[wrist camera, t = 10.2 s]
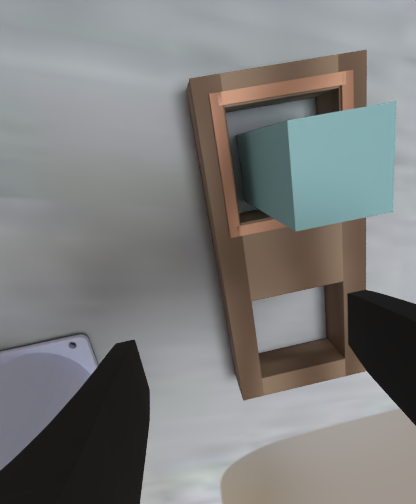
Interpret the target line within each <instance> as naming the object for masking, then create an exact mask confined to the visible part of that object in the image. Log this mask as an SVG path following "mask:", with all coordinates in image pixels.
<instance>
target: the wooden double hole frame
mask: <svg viewBox="0 0 416 504" xmlns="http://www.w3.org/2000/svg"><path fill="white" fill-rule="evenodd" d="M366 78H367V50H362V51H356V52H350V53H344V54H338V55H332V56H326V57H319V58H313V59H307V60H301V61H295V62H289V63H283V64H277V65H270V66H264V67H258V68H252V69H246V70H240V71H234V72H227V73H221V74H215V75H209V76H203V77H197V78H191V79H189V83H188V86H187V95H188V101H189V107H190V112H191V118H192V124H193V130H194V136H195V142H196V147H197V153H198V159H199V165H200V171H201V176H202V182H203V188H204V194H205V200H206V206H207V211H208V217H209V223H210V229H211V235H212V240H213V246H214V252H215V258H216V264H217V270H218V275H219V281H220V287H221V293H222V299H223V304H224V310H225V316H226V322H227V328H228V334H229V339H230V345H231V351H232V357H233V363H234V368H235V374H236V378H237V381H238V385H239V388H240V391H241V394H242V398H243V400H247V399H251V398H256V397H260V396H264V395H268V394H272V393H276V392H281V391H285V390H289V389H293V388H297V387H302V386H306V385H310V384H314V383H318V382H323V381H327V380H331V379H335V378H339V377H344V376H348V375H352V374H356V373H360V372H365V368H364V367H363V365H362V364H361V362H360V361H359V360H358V358H357V357H356V355H355V354H354V352H353V351H352V349H351V348H350V346H349V345H348V302H347V293H352V292H357V291H361V290H366V217H365V218H360V219H355V220H350V221H345V222H340V223H335V224H330V225H325V226H320V227H316V228H311V229H306V230H301V231H294V230H292V229H291V228H289V227H287V226H286V225H284V224H282V223H281V222H279V221H277V220H276V219H274V218H272V217H271V216H269V215H267V214H266V213H264V212H262V211H261V210H254V211H249V212H244V213H239V208H238V201H237V193H236V186H235V179H234V172H233V164H232V157H231V150H230V142H229V135H228V128H227V120H226V112H231V111H237V110H243V109H249V108H255V107H261V106H266V105H272V104H278V103H284V102H290V101H295V100H301V99H307V98H313V97H316V106H317V115H321V114H327V113H332V112H338V111H344V110H349V109H355V108H361V107H366ZM324 285H325V302H326V324H327V338H326V339H321V340H317V341H312V342H308V343H304V344H299V345H295V346H291V347H286V348H282V349H277V350H273V351H269V352H264V353H260V354H258V347H257V339H256V332H255V325H254V317H253V310H252V303H251V301H254V300H259V299H264V298H268V297H273V296H277V295H282V294H287V293H291V292H296V291H301V290H305V289H310V288H314V287H319V286H324Z"/></svg>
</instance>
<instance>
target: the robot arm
mask: <svg viewBox="0 0 416 504" xmlns="http://www.w3.org/2000/svg"><path fill="white" fill-rule="evenodd" d="M347 302H348V345H349V346H350V348H351V349H352V351H353V352H354V354H355V355H356V357H357V358H358V360H359V361H360V362H361V364H362V365H363V367H364V368H365V369H366V371H367V372H368V373H369V374H370V375H371V376H372V378H373V379H374V380H375V381H376V382H377V383H378V384H379V385H380V387H381V388H382V389H383V390H384V391H385V392H386V393H387V394H388V395H389V397H390V398H391V399H392V400H393V401H394V402H395V403H396V404H397V405H398V407H399V408H400V409H401V410H402V411H403V412H404V413H405V414H406V415H407V416H408V418H410V420H411V421H412V422H413V423H414V424H415V425H416V304H414V303H411V302H407V301H404V300H401V299H398V298H394V297H391V296H387V295H384V294H380V293H377V292H373V291H368V290H361V291H357V292H352V293H347ZM70 342H74V343H76V345H72V344H71V343H70ZM149 421H150V389H149V386H148V383H147V379H146V376H145V372H144V369H143V366H142V362H141V359H140V356H139V352H138V349H137V345H136V342H135V340H130V341H126V342H121V343H116V344H115V345H114V347H113V348H112V349H111V350H110V351H109V353H108V354H107V355H106V356H105V358H104V359H103V360H102V362H101V363H100V364H99V365H98V364H97V361H96V358H95V355H94V353H93V350H92V347H91V344H90V341H89V339H88V337H87V336H85V335H82V334H80V335H75V336H70V337H65V338H61V339H56V340H51V341H47V342H42V343H37V344H33V345H28V346H23V347H19V348H14V349H10V350H5V351H0V504H140V497H141V489H142V481H143V472H144V464H145V456H146V448H147V439H148V430H149Z"/></svg>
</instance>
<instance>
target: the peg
mask: <svg viewBox="0 0 416 504" xmlns="http://www.w3.org/2000/svg"><path fill="white" fill-rule="evenodd" d="M395 126H396V101H395V102H389V103H383V104H378V105H372V106H366V107H361V108H355V109H349V110H344V111H338V112H332V113H327V114H321V115H315V116H310V117H304V118H298V119H293V120H287V121H284V122H280V123H277V124H273V125H270V126H266V127H263V128H260V129H256V130H253V131H249V132H246V133H242V134H239V135H237V140H238V148H239V156H240V164H241V172H242V179H243V187H244V195H245V201H246V202H247V203H249V204H251V205H252V206H254V207H256V208H257V209H259V210H261V211H262V212H264V213H266V214H267V215H269V216H271V217H272V218H274V219H276V220H277V221H279V222H281V223H282V224H284V225H286V226H287V227H289V228H291V229H292V230H294V231H301V230H306V229H311V228H316V227H320V226H325V225H330V224H335V223H340V222H345V221H350V220H355V219H360V218H365V217H370V216H375V215H380V214H385V213H390V212H393V187H394V157H395Z"/></svg>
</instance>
